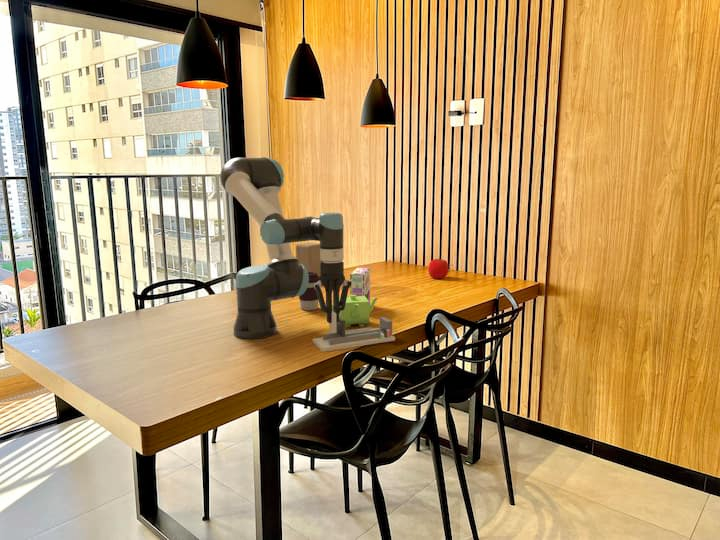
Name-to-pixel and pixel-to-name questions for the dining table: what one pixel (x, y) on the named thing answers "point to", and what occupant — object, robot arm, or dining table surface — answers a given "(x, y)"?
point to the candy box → (360, 282)
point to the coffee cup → (310, 294)
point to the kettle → (357, 310)
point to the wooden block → (309, 256)
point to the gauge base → (354, 338)
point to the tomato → (438, 268)
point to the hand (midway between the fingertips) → (333, 331)
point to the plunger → (342, 331)
